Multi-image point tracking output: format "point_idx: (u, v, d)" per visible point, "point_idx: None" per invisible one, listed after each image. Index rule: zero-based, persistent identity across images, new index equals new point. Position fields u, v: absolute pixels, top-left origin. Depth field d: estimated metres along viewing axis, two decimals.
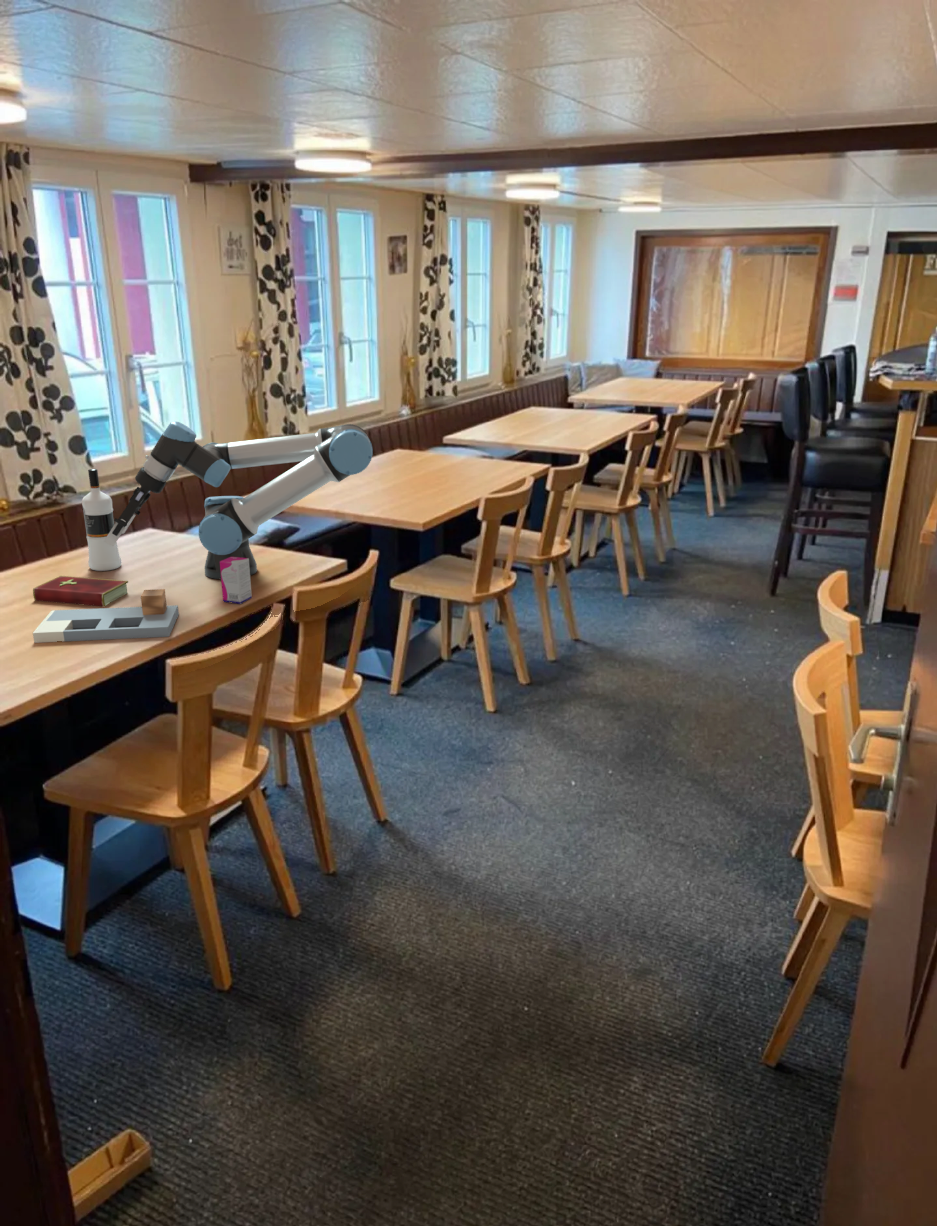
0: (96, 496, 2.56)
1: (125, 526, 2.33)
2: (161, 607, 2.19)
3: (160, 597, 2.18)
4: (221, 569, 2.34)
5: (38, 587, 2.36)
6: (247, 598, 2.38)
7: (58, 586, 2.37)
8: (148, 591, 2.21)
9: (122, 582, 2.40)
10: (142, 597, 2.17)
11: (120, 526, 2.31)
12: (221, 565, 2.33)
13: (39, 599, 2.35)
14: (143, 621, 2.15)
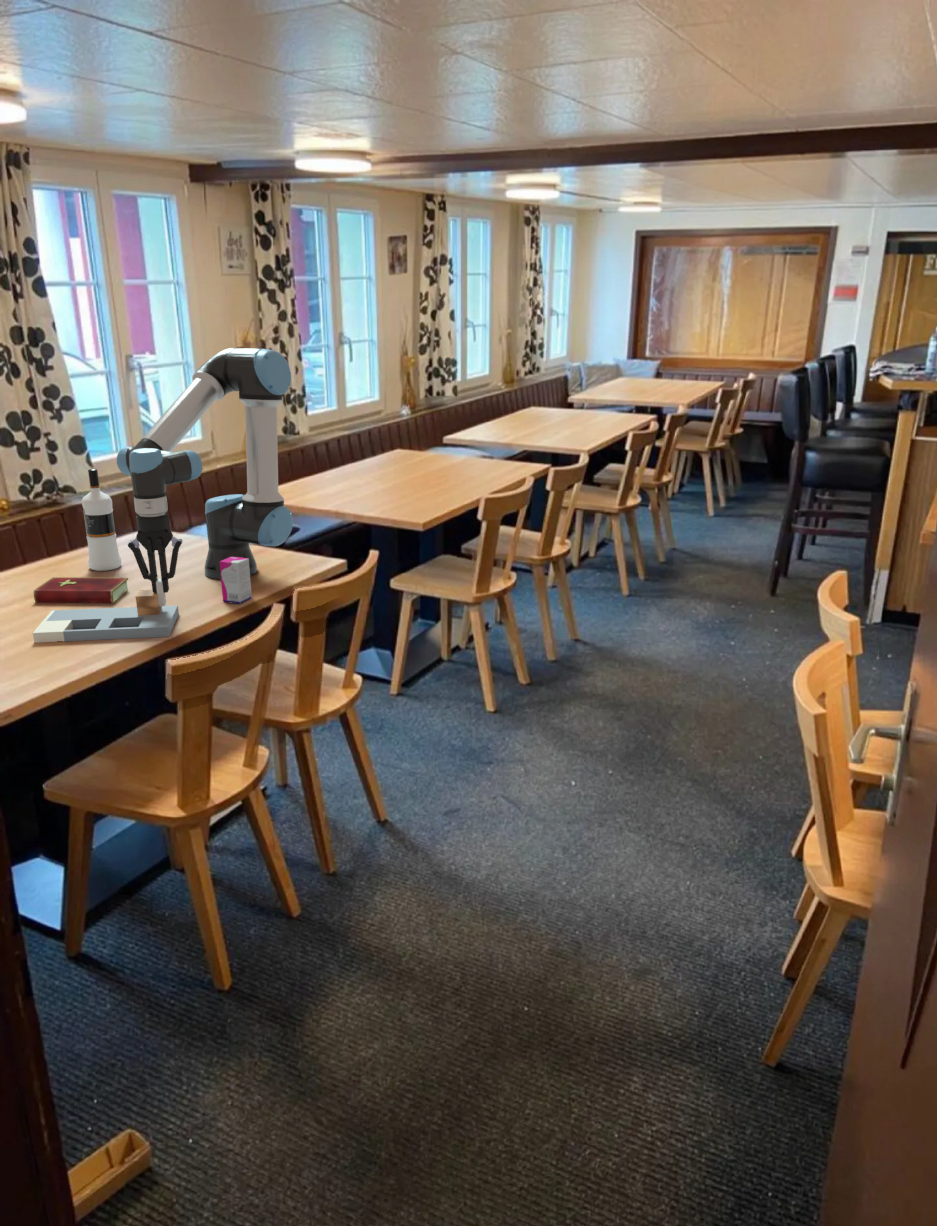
0: (96, 496, 2.56)
1: None
2: (156, 607, 2.19)
3: (155, 597, 2.18)
4: (221, 569, 2.34)
5: (38, 589, 2.34)
6: (247, 598, 2.38)
7: (59, 587, 2.36)
8: (143, 591, 2.20)
9: (123, 579, 2.43)
10: (137, 597, 2.17)
11: (167, 580, 2.20)
12: (221, 565, 2.33)
13: (40, 601, 2.34)
14: (143, 621, 2.15)
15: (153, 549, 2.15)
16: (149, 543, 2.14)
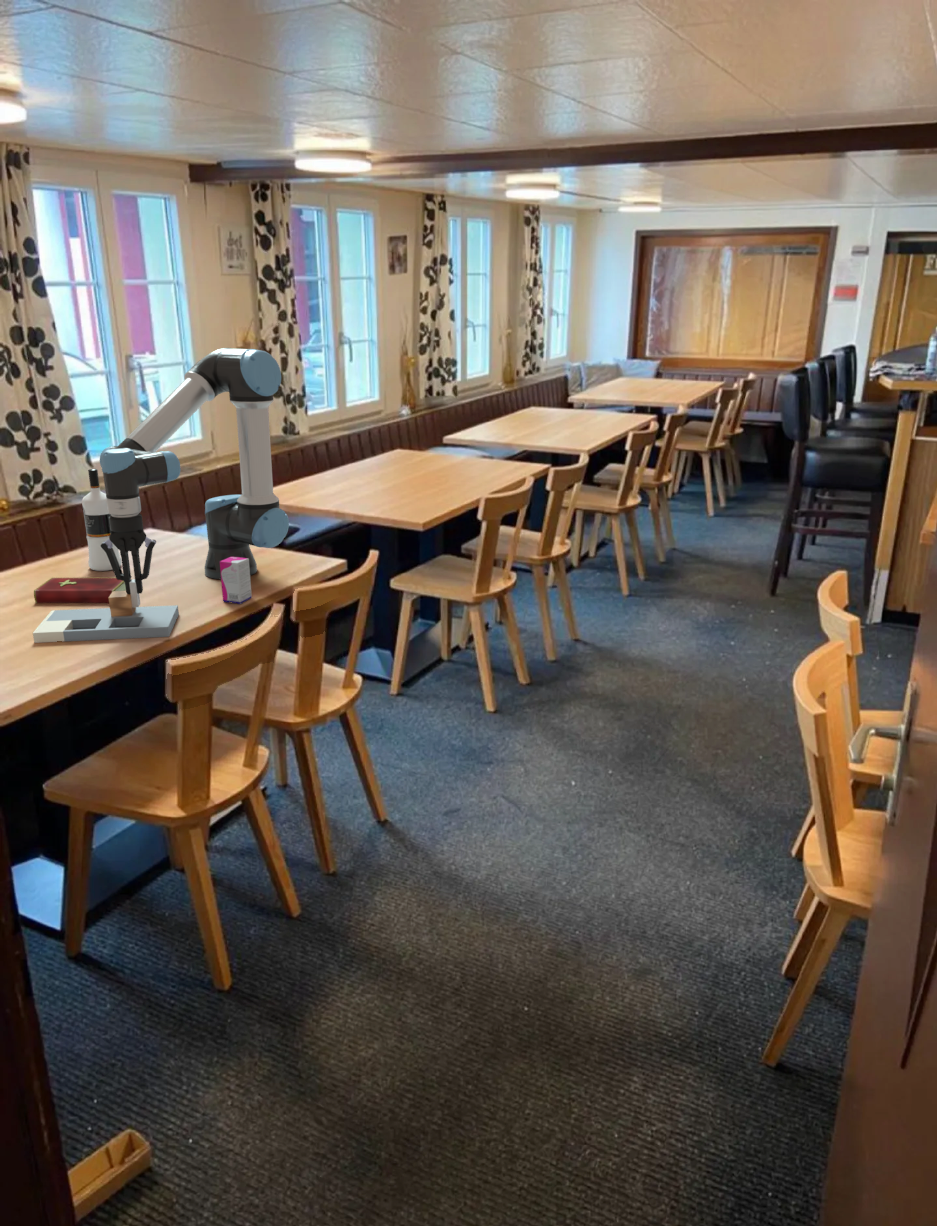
0: (96, 496, 2.56)
1: (135, 579, 2.19)
2: (129, 608, 2.18)
3: (128, 598, 2.17)
4: (221, 569, 2.34)
5: (38, 589, 2.34)
6: (247, 598, 2.38)
7: (59, 587, 2.36)
8: (116, 592, 2.19)
9: None
10: (110, 598, 2.16)
11: (141, 581, 2.19)
12: (221, 565, 2.33)
13: (41, 601, 2.34)
14: (143, 621, 2.15)
15: (126, 550, 2.14)
16: (122, 544, 2.13)
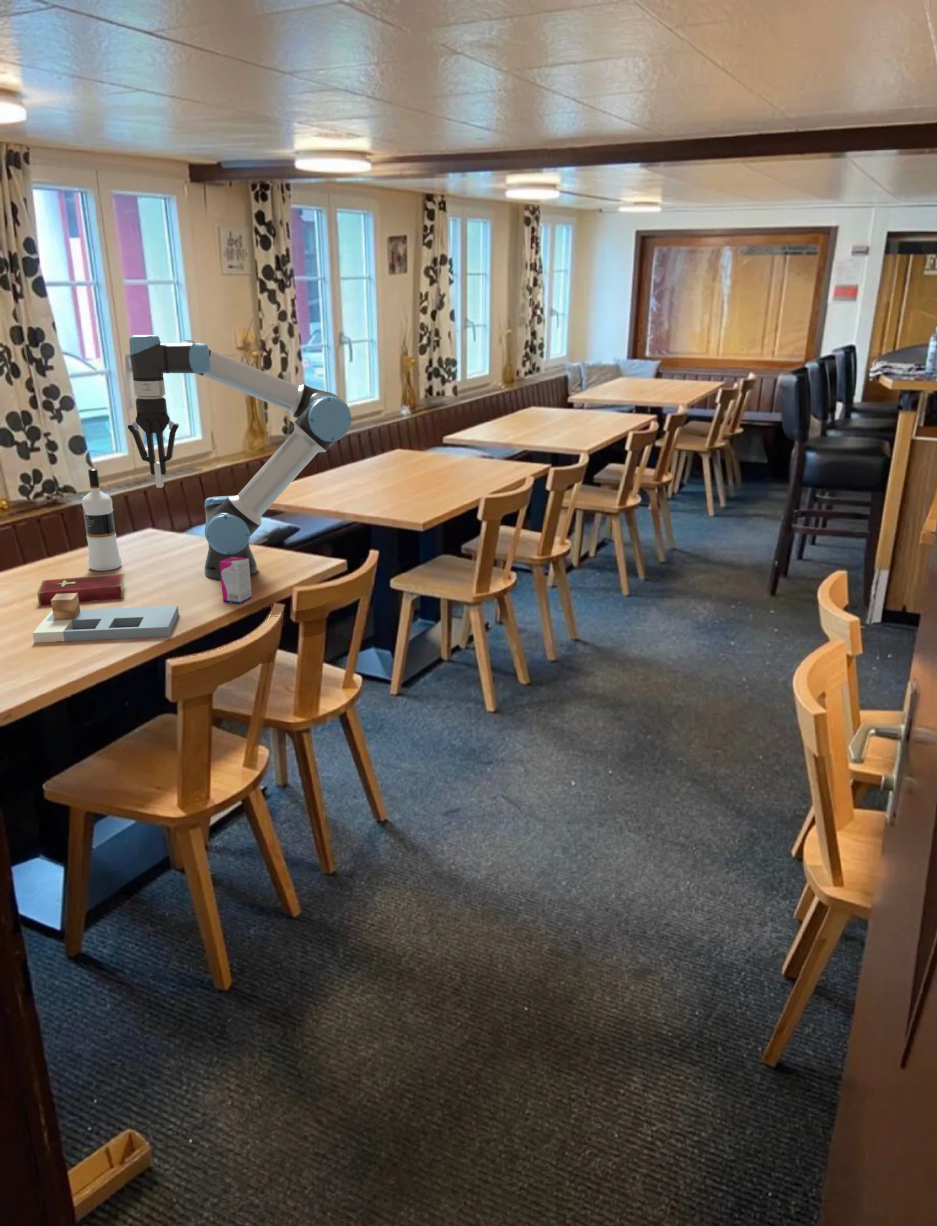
0: (96, 496, 2.56)
1: (159, 461, 2.35)
2: (72, 611, 2.15)
3: (71, 601, 2.14)
4: (221, 569, 2.34)
5: (41, 591, 2.32)
6: (247, 598, 2.38)
7: (61, 587, 2.36)
8: (60, 595, 2.17)
9: (120, 575, 2.46)
10: (52, 601, 2.14)
11: (165, 462, 2.34)
12: (221, 565, 2.33)
13: (45, 603, 2.33)
14: (143, 621, 2.15)
15: (151, 431, 2.30)
16: (147, 425, 2.28)
